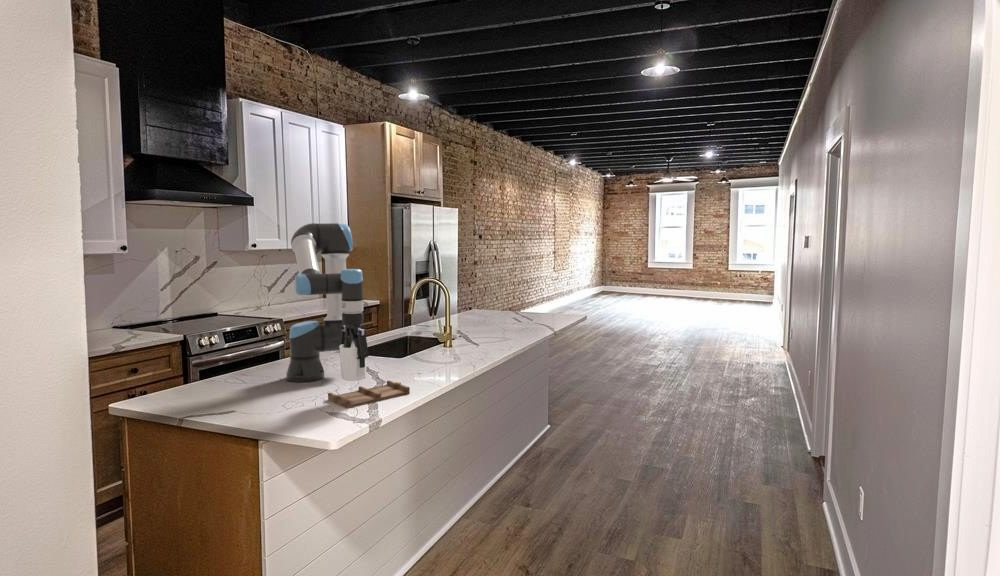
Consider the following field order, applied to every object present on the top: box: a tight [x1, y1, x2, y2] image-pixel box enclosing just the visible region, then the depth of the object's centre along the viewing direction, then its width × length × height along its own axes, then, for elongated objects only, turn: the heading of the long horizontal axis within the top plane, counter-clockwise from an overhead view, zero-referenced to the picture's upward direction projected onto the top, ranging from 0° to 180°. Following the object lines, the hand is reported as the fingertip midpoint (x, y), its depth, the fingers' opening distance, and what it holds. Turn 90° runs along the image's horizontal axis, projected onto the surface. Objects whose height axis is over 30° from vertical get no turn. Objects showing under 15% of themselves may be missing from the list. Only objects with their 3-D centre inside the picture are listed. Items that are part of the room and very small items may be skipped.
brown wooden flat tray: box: [327, 380, 411, 409], centre depth 210 cm, size 14×27×3 cm, turn 134°
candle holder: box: [339, 343, 368, 382], centre depth 204 cm, size 10×10×12 cm
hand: (354, 373), depth 205 cm, fingers closed on candle holder, 9 cm apart
